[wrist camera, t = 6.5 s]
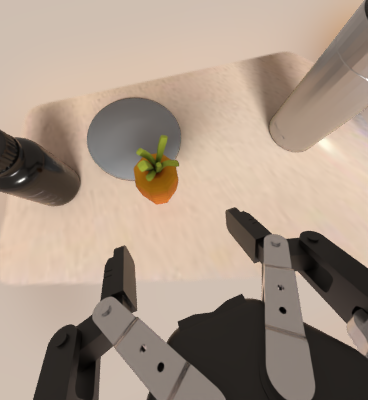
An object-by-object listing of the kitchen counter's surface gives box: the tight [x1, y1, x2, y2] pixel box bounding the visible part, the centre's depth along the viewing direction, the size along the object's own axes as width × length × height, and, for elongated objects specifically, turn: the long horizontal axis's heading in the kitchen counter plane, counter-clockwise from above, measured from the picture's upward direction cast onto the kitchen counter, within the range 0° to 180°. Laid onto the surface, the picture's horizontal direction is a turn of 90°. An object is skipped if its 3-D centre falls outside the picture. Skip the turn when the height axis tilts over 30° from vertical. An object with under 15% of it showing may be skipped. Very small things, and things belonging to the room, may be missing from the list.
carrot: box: [134, 135, 179, 204], centre depth 21 cm, size 5×5×15 cm
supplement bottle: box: [0, 130, 80, 206], centre depth 22 cm, size 7×7×12 cm
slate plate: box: [87, 98, 181, 181], centre depth 31 cm, size 16×16×1 cm
